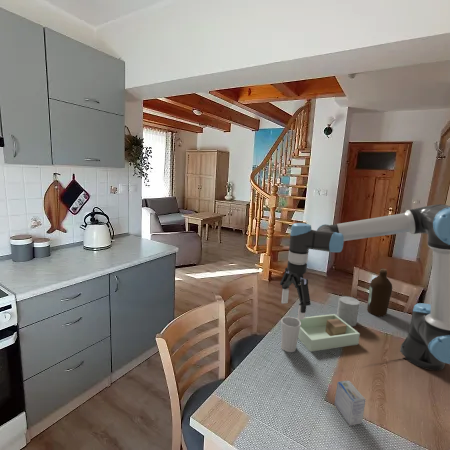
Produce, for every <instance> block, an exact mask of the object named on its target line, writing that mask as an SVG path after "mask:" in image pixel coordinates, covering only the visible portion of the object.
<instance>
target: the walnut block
mask: <svg viewBox="0 0 450 450" xmlns="http://www.w3.org/2000/svg"><path fill="white" fill-rule="evenodd" d="M346 327H347V326H346V325H345V324H344V323H343V322H341V321H340V320H339V319H331V320H327V323H326V331H325V332H326V333H327V334H328V335H330V336H335V335H342V334H345V333H346Z"/></svg>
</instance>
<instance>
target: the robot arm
mask: <svg viewBox="0 0 450 450" xmlns="http://www.w3.org/2000/svg"><path fill="white" fill-rule="evenodd" d="M405 233H409V234H411V235H417V234H426V235H427V246H428V248H430V249H431V250H432V264H431V268H432V269H431V285H430V286H431V288H430V290H431V291H430V303H421V302H419V303H418V302H417V303H416V304H415V305H414V306H413V309H412V314H411V319H410V325H409V330H408V334H407V337H406V338H405V339H404V340H403V342H402V344H401V346H400V351H399V352H400V353H401V354H402V355H403V356H404V359H405V360H406V361H408V362H410V363H411V364H413V365H414V366H416V367H417V366H418V367H419V368H422V369H425V370H430V371H441V370H443V369H444V368H445V365H446V364H448V365H450V205H447V204H441V203H440V204H431V205H427V206H422V207H417V208H411V209H407V210H406V211H405V212H403V213H396V214H392V215H384V216H378V217H372V218H367V219H360V220H354V221H348V222H347V221H346V222H342V223H341V222H339V223H336V224H330V225H329V224H321V225H319V227H317V229H316V230H314V229H312V225H311V224H309V223H303V222H295V223H293V224H292V225H291V230H290V235H289V244H288V245H289V246H288V247H289V248H288V257H287V260H288V261H287V267H285V269H284V273H283V275H282V278H281V280H280V282H279V285H280V286H281V288H282V291H281V304H283V305H284V304H288V303H289V293H290V286H291V285H292V284H293V285H294V288H295V289H296V291H297V295H298V300H299V303H298V311H297V317H296V318H297V319H298V320H303V319H305V317H306V312H307V306H311V297H310V291H309V280H308V278H304V274H305V273H307V269H308V268H307V267H308V257H309V250H313V251H314V250H315V251H322V252H328V253H341V252H342V251H343V248H344V243H345V242H346V241H353V240H360V239H361V240H362V239H368V238H375V237H376V238H377V237H383V236H391V235H397V234H405Z"/></svg>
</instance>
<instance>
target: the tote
mask: <svg viewBox="0 0 450 450" xmlns="http://www.w3.org/2000/svg"><path fill="white" fill-rule="evenodd" d="M295 318H296V319H297V317H295ZM331 319H339V320H340V321H341V322H343V323H344V324H345V325H346V326H347V327H346V333H345V334H342V335H335V336H330V335H328V334H327V333H326V332H325V331H326V323H327V320H331ZM299 321H300V322H301V326H300V331H299V336H298V340H299V341H300V342H301V343H302V344H303V346H305V348H306V349H307V350H308V351H309V352H312V353H313V352H316V351H317V352H319V351H324V350H330V349H331V350H332V349H338V348H342V347H350V346H357V345H359V342H360V341H359V340H360V335H361V333H360V332H358V330H357V329H355V328H353V326H352V327H351V326H350V325H348V324H347V323H346V322H344V321H343V320H342V319H341V318H339V317H338V316H337V314H336V313H331V314H322V315H321V314H320V315H313V316H305V319H303V320H299Z"/></svg>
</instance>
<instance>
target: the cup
mask: <svg viewBox="0 0 450 450" xmlns="http://www.w3.org/2000/svg"><path fill="white" fill-rule="evenodd" d="M296 318H297V317H293V316H284V317H282V318H281V320H280V321H281V322H280V323H281V324H280V325H281V328H280V329H281V331H280V332H281V334H280V335H281V337H280V338H281V339H280V348H281V349H282V351H284V350H285V351H284V352H287V353H293V352H295V351H296V350H297V345H298V340H299V339H298V336H299V331H300V326H301V322H300V321H299V320H298V319H296Z"/></svg>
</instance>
